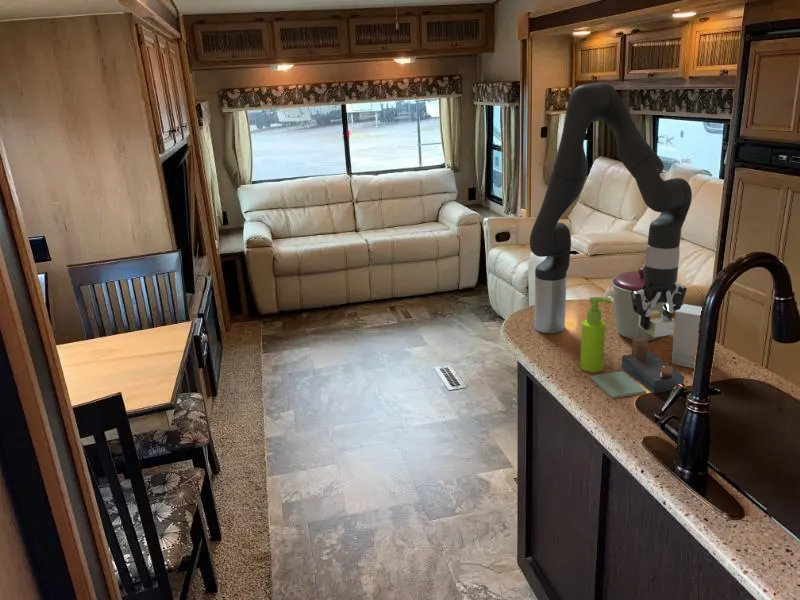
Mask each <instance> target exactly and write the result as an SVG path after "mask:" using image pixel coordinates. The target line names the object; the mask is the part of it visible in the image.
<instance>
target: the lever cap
mask: <svg viewBox="0 0 800 600" xmlns="http://www.w3.org/2000/svg"><path fill="white" fill-rule="evenodd" d="M649 316H650V322H649V330H645V329H643V328H642V327H641V325H640V321H641V315H639V323H638V327H640V328H641V329H643V330H644V331H646V332H647V333H649V334H650V335H651V336H653V337H659V336H660V337H665V336H671V335H674V322H675V320H673V319H672V320H671V319H669V318H667V317H665V316H664V315H663V314H661V313H660V312H659V311H657V310H654V311H651V313H650V315H649ZM660 337H659V338H660Z"/></svg>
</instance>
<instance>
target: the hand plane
mask: <svg viewBox="0 0 800 600" xmlns="http://www.w3.org/2000/svg"><path fill="white" fill-rule="evenodd" d="M648 346H649V340H648V339H647V338H645V337H644V336H641V337H634V338H633V340H632V344H631V354H624V355H622V356H621V368H622V369H623V370H624V371H625V372H626V373H628V374H629V375H631V376H632V378H634V380H636V382H637V381H638V383H639V384H641V385H642V386H644V388H646V389H647V390H648V391H649V392H650V393H652V394H653V395H655V393H656V394H660V393H659V392H662V393H666V392H665V391H668V392H670V391H669V390H671V389H673V388H674V387H675V386H677V385H678V384H683V385H684V383H685V376H684V374H681V373H680V371H677V369H675V368H673V367H674V366H673V364H670V363H666V362H665V361H664V360H662V359H661V358H659V357H658V356H656V354H654V353H653V352H651V351H648Z"/></svg>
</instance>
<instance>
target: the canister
mask: <svg viewBox="0 0 800 600" xmlns="http://www.w3.org/2000/svg"><path fill="white" fill-rule="evenodd" d="M644 267H645V266H642V267H641V266H640V267H639V269H638V270H631V271H625V272H622V273H619V274H618V275H615V276H613V277H612V278H611V280H610V284H611V286H612V288H613V291H612V292H613V293H612V294H613V307H614V308H613V310H614V319H615V320H614V321H615V326H616V330H617V332H618V333H619V334H620V335H621V336H623V337H625V338H626V339H628V340H629V339H630V340H632V341H633V338H634V337H641V336H644V337H645V338H647V339H648V341H654V340H656V339H659V338H661V336H659V337H653V336H651V335H650V334H649V333H647V332H646V331H644V330H643V329H641V328H640V327H638V323H639V314H637V313H636V312H634V310H633V303H632V297H631V292H632V291H639V290H642V287H643V286H644ZM675 284H676V285H678V282H677V281H676V283H675ZM673 295H674V293H673V294H672V295H671V298H673ZM644 297H645V295H643V299H641V300H642V302H643V300H644ZM649 303H651V302H650V301H649ZM642 305H643V304H642ZM654 310H657V311H659V312H660V313H661V314H663V311H665V310H664V308H663V304H662V303H661V302H660V303H657V304H656V305H655V307H654V309H652V311H654Z"/></svg>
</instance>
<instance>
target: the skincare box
mask: <svg viewBox="0 0 800 600" xmlns="http://www.w3.org/2000/svg"><path fill="white" fill-rule="evenodd" d="M702 307H703V306H699V305H692V304H686V303H682V305H681V308H680V309H679V310H675V311H674V325H673V338H672V339H673V340H672V353H671V354H672V355H671V365H677V366H682V367H686V368H690V369H693V368H694V362H695V356H696V350H697V343H698V331H699V322H700V315H701V311H702Z"/></svg>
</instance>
